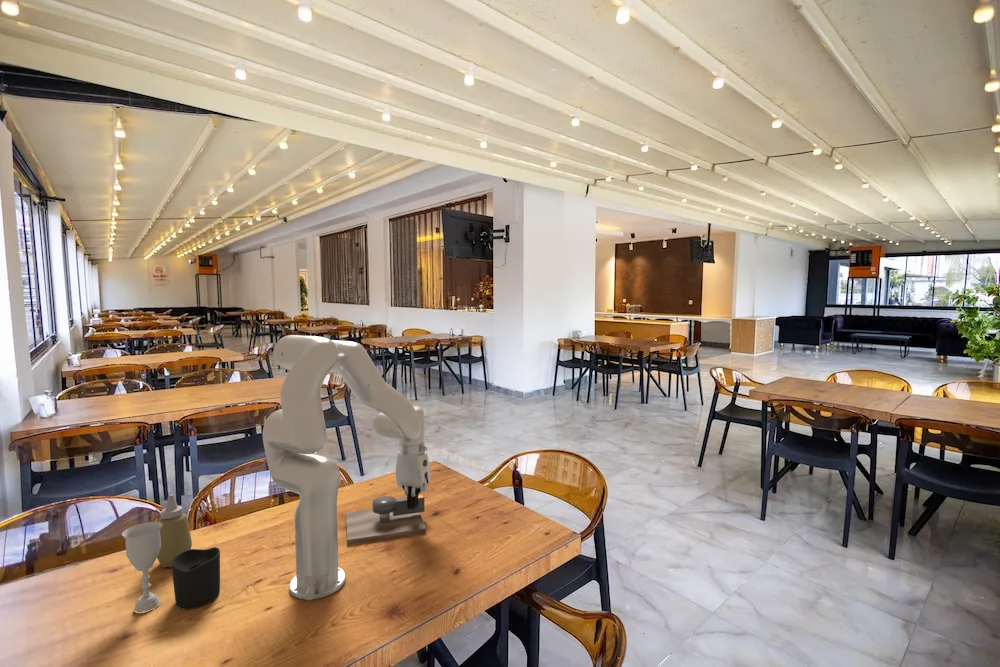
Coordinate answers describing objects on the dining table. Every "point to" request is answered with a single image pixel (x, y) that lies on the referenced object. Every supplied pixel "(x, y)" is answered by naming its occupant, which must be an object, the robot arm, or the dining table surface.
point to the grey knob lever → (396, 505)
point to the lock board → (381, 526)
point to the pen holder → (196, 577)
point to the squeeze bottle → (173, 532)
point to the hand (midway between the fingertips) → (412, 507)
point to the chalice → (144, 557)
